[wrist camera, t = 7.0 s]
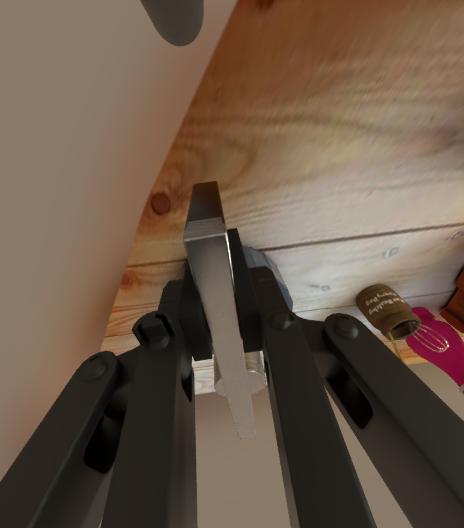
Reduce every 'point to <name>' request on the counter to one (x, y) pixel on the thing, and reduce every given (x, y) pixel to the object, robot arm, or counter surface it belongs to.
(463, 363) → the pepper mill
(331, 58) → the counter surface
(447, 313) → the milk bottle holder
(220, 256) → the bent grey beam
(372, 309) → the utensil holder
